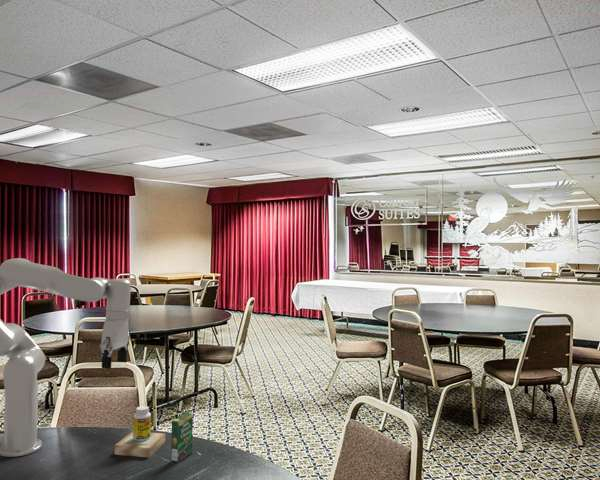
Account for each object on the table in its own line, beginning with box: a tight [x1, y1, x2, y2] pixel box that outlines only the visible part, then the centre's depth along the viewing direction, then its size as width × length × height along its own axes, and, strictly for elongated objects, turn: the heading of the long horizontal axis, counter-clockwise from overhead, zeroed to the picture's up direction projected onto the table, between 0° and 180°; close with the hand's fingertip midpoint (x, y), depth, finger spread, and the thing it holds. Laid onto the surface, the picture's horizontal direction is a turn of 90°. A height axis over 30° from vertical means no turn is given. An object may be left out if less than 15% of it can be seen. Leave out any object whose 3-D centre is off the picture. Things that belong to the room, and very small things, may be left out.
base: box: [114, 430, 166, 458], centre depth 162 cm, size 12×12×3 cm
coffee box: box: [170, 412, 194, 464], centre depth 156 cm, size 8×3×13 cm, turn 157°
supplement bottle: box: [132, 405, 152, 441], centre depth 162 cm, size 6×6×10 cm
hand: (114, 364), depth 167 cm, fingers open, 9 cm apart
